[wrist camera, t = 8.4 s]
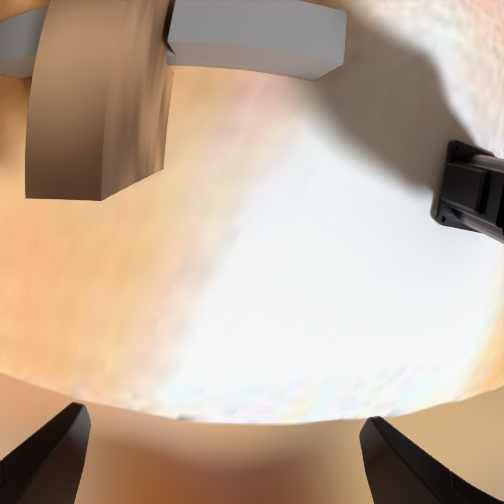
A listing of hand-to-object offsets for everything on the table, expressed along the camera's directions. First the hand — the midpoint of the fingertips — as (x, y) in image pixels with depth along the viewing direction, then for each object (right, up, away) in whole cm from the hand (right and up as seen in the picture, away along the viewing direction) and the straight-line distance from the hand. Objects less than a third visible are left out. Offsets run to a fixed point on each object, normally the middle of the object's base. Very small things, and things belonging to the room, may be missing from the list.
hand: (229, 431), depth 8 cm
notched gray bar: (-5, +18, +7) cm, 20 cm away
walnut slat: (-5, +18, +7) cm, 20 cm away
